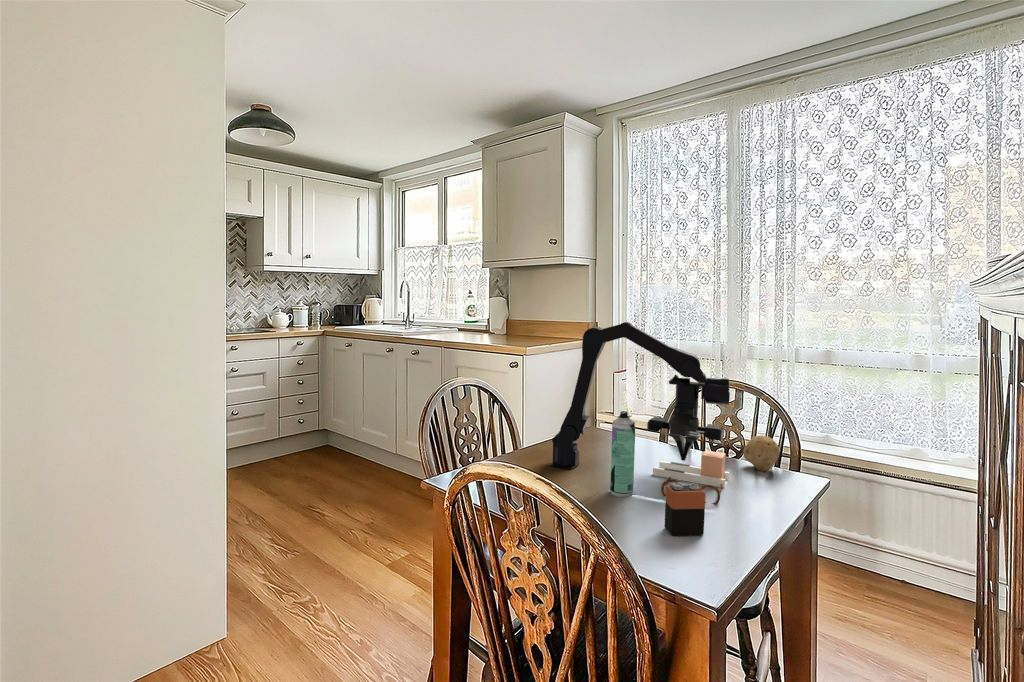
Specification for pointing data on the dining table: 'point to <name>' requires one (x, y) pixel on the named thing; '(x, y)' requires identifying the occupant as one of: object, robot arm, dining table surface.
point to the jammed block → (713, 464)
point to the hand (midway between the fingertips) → (683, 460)
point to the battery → (684, 509)
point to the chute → (687, 474)
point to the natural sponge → (761, 452)
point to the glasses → (701, 488)
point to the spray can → (622, 456)
